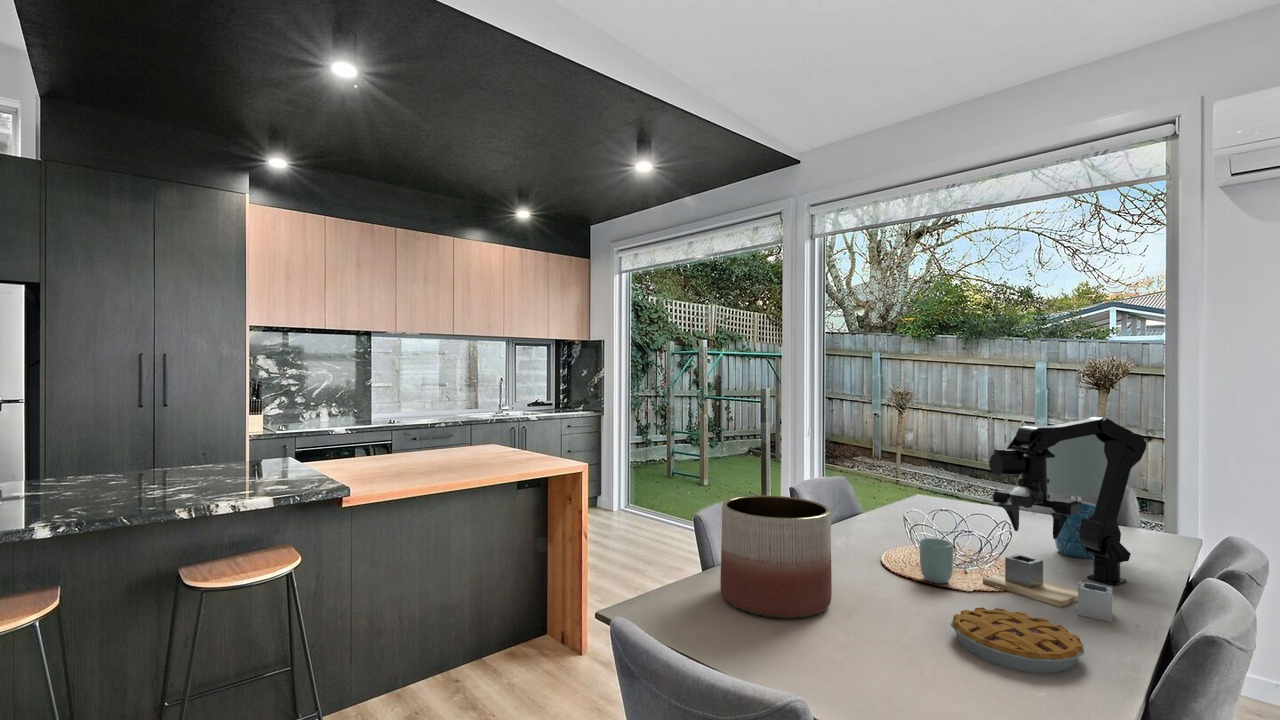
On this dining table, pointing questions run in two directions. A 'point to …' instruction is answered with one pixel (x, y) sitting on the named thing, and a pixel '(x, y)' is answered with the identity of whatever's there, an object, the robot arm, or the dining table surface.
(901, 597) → the dining table surface
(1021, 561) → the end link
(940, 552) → the cup
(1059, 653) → the pie
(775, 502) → the planter
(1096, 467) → the lamp
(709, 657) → the dining table surface
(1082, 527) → the robot arm
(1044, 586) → the board
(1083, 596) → the grey open cube box
